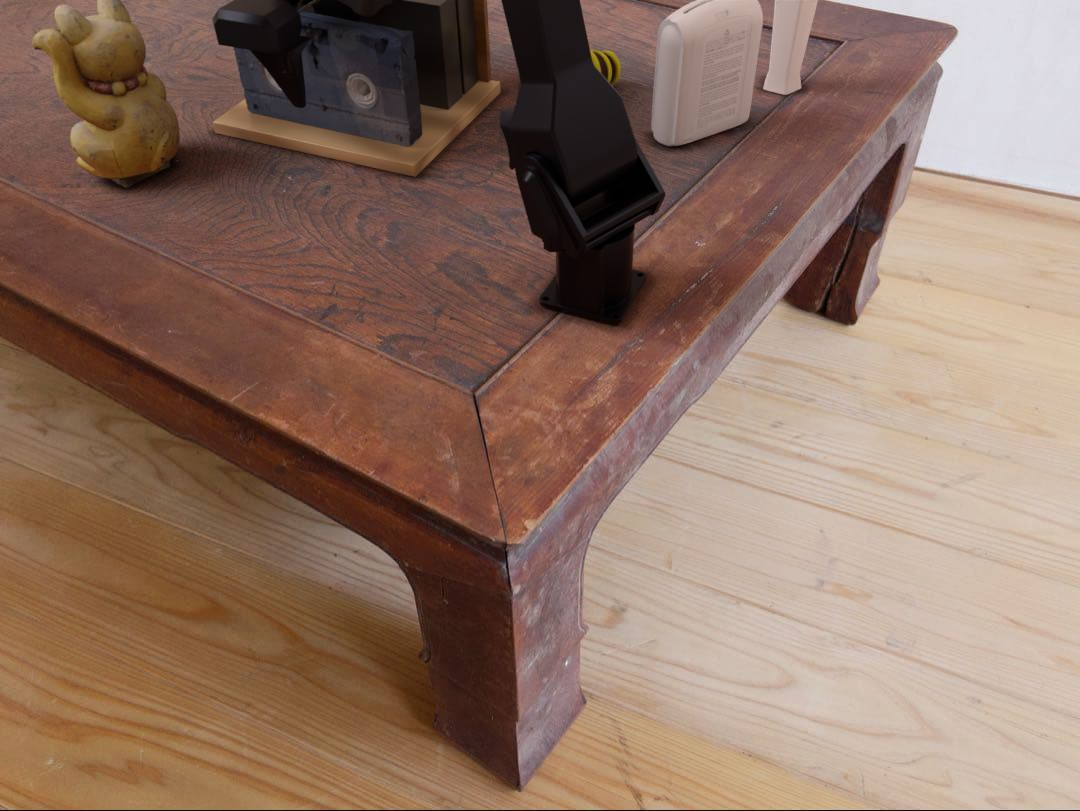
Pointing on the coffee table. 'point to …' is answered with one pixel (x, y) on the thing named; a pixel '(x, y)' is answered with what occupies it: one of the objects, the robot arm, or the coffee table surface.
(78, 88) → the decorative figurine
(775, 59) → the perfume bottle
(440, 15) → the tape rack
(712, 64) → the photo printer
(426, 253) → the coffee table surface
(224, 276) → the coffee table surface
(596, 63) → the yellow hollow cylinder
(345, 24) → the vhs cassette tape
